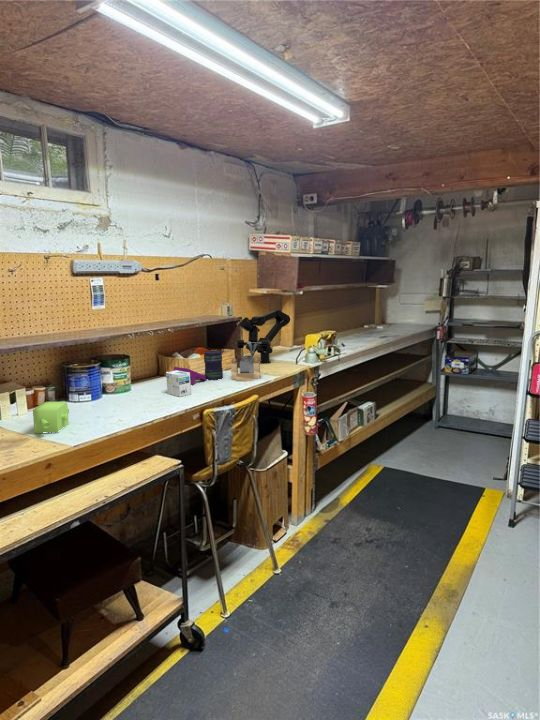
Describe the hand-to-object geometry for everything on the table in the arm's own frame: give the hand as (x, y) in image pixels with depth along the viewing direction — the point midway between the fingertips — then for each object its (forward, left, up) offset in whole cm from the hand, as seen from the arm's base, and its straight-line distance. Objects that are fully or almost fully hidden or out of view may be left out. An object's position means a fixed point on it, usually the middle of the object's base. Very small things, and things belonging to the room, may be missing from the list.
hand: (252, 356), depth 278 cm
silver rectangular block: (+20, -5, -8) cm, 22 cm away
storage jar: (+22, -23, -8) cm, 33 cm away
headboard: (+30, -7, -8) cm, 32 cm away
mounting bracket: (+29, -35, -8) cm, 47 cm away
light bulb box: (+53, -40, -8) cm, 67 cm away
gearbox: (+96, -84, -8) cm, 128 cm away
